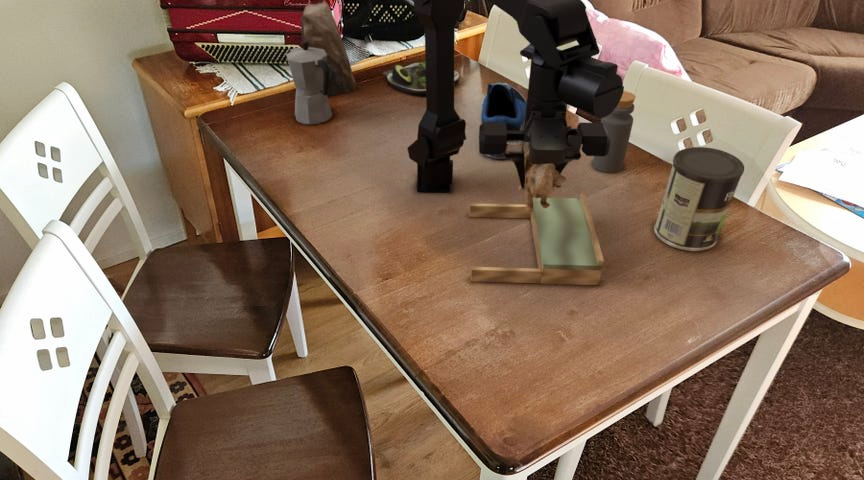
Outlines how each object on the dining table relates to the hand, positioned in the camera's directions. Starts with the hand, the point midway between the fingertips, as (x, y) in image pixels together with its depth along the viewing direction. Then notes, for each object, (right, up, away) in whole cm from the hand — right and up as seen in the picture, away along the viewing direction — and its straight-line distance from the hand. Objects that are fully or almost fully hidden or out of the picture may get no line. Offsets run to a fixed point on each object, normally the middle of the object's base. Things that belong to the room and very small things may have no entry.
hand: (536, 187), depth 98 cm
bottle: (+21, +8, +28) cm, 36 cm away
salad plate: (-14, +36, +64) cm, 75 cm away
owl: (-38, +34, +63) cm, 81 cm away
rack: (+1, -9, +8) cm, 12 cm away
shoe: (+3, +19, +42) cm, 46 cm away
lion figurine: (+1, -2, +1) cm, 2 cm away
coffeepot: (-40, +23, +50) cm, 68 cm away
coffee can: (+28, -7, +9) cm, 30 cm away
